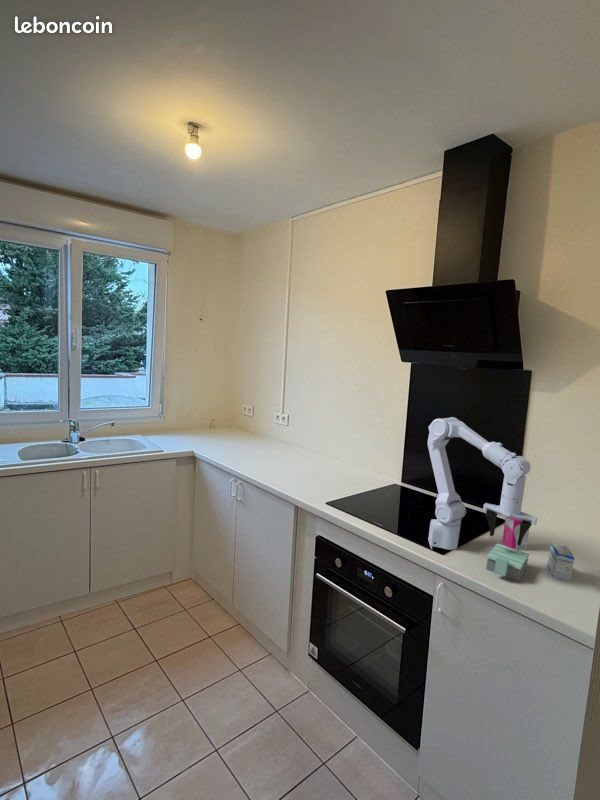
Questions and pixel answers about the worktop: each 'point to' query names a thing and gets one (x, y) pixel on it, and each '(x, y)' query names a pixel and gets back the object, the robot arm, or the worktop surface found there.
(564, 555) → the medicine box
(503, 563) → the lid
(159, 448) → the worktop surface
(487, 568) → the tub
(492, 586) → the worktop surface
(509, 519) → the supplement box
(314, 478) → the worktop surface
